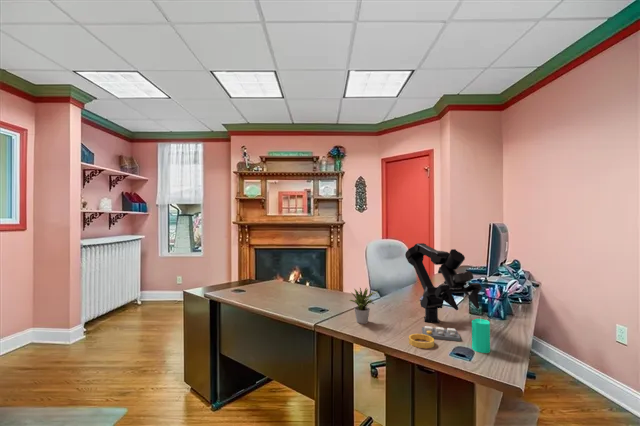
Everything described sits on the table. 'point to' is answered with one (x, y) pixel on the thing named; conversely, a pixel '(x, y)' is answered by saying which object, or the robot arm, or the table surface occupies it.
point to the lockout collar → (421, 344)
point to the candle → (481, 335)
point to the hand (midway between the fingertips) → (468, 309)
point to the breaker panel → (441, 333)
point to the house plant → (362, 306)
